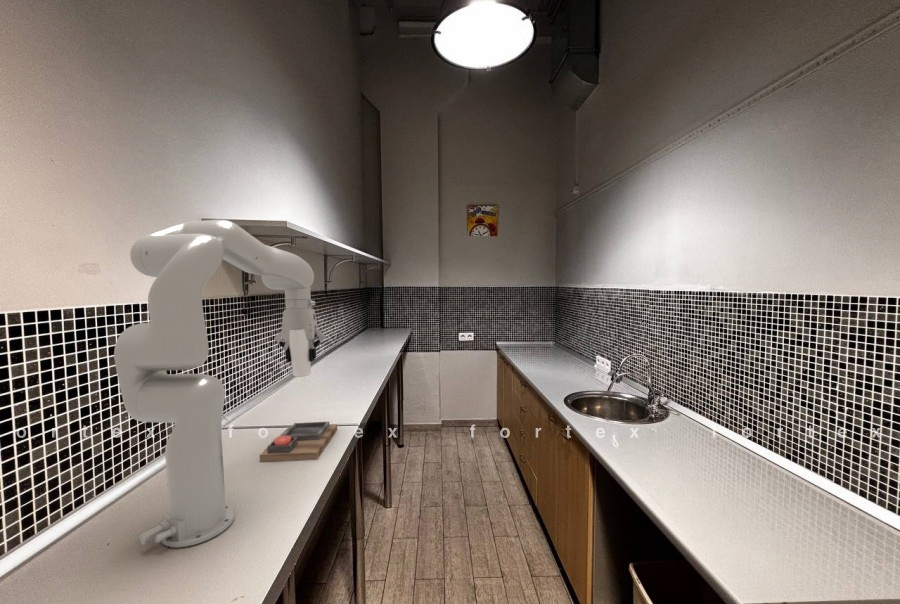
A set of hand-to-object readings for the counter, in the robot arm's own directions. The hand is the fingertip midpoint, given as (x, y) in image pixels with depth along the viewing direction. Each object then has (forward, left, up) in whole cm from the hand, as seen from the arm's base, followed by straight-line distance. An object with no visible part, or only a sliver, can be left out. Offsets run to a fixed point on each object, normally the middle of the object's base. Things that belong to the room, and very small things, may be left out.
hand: (301, 360), depth 120 cm
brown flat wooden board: (-3, -2, -26) cm, 26 cm away
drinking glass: (0, 0, -5) cm, 5 cm away
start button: (-11, -3, -23) cm, 26 cm away
